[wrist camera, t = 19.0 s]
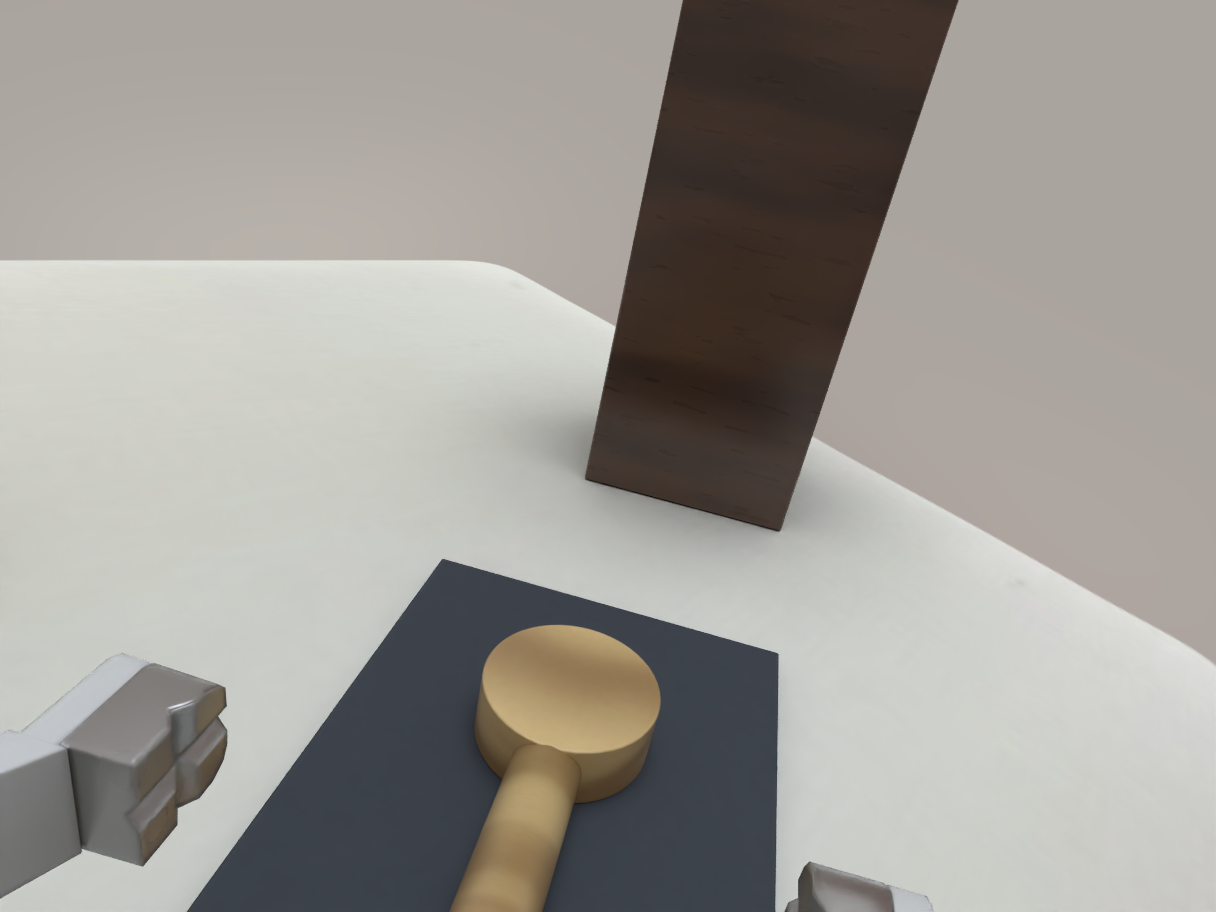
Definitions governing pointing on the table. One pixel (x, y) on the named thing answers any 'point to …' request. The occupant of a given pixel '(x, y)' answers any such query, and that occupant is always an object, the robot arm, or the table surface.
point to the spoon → (551, 752)
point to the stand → (757, 241)
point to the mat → (466, 786)
